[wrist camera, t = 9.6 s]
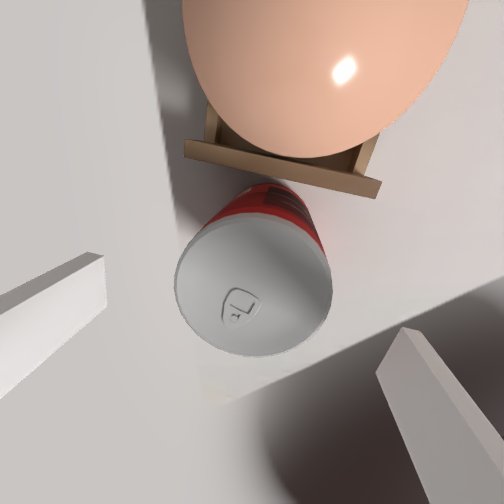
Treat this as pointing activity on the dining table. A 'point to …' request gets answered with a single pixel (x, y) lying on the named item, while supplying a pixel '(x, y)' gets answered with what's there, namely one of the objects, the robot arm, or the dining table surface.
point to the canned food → (256, 275)
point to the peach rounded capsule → (316, 65)
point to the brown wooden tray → (285, 160)
